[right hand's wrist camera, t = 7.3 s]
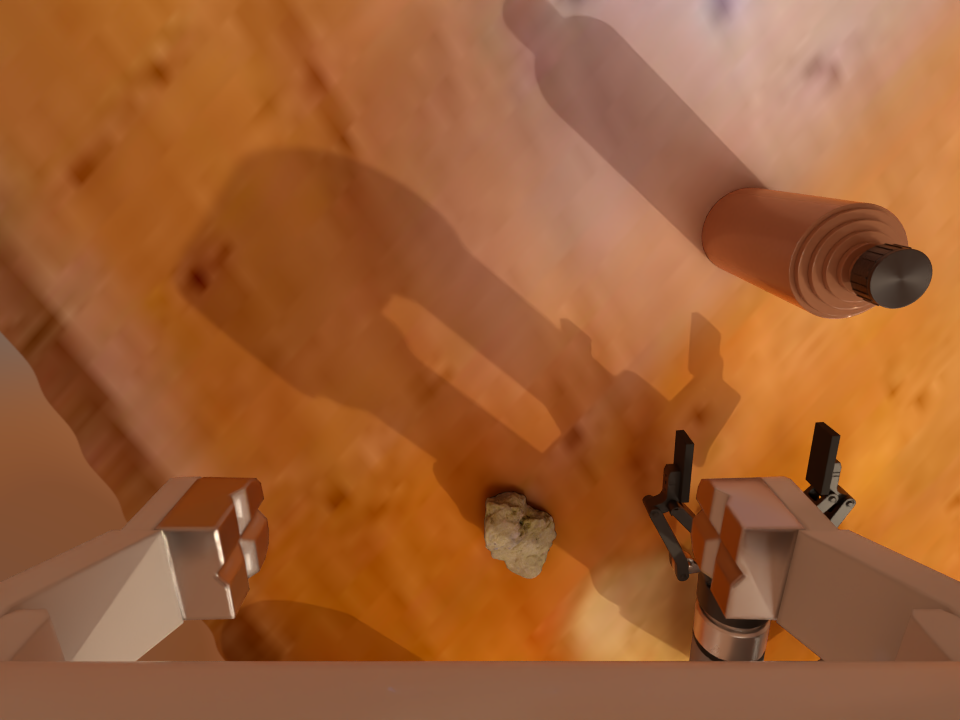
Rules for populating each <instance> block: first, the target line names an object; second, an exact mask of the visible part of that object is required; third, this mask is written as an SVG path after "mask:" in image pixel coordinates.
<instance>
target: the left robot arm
mask: <svg viewBox="0 0 960 720" xmlns="http://www.w3.org/2000/svg"><path fill="white" fill-rule="evenodd" d="M839 440H840V435H839V434H838V433H837V432H835V431H834V430H833V429H831V428H830V427H829V426H828V425H826V424H825V423H824V422H816V424H815V429H814V435H813V441H812V446H811V452H810V457H809V463H808V469H807V474H806V480H807V481H808V482H809V483H810V484H811V486H810V487H808V488H807V489H806V490H805V491H804V492H803V493H804V494H805V495H806V496H807V497H808V498H809V499H810V500H811V501H812V502H813V503H814V504H815V505H816V506H817V507H818V508H819V509H820V510H821V512H822V513H823V514H824V515H825V516H826V517H827V518H828V519H829V520H830V521H831V522H832V523H833V524H834V525H835V526H836V527H838V526H839V525H840V524H841V522H842V521H843V520H844V519H845V517H846V516H847V515H848V513H849V512H850V511H851V510H852V508H853V507H854V506H855V504H856V501H855V500H854V499H853V498H852V497H851V496H850V495H849V494H848V493H847V492H846V491H845V490H844V489H842V488H841V487H840V486H839V485H838V481H839V475H840V471H841V464H840V462H839V461H838V460H837V459H836V455H837V450H838V445H839ZM693 450H694V443H693V442H692V440H691V439H690V438H689V436H688V435H687V434H686V432H685V431H684V430H677V431H676V439H675V452H674V464H666V466H665V468H664V475H663V489H662V491H661V493H660V494H658V495H656V496H651V495H647V496H645V497H644V498H643V503H644V505H645V508H646V510H647V512H648V514H649V516H650V518H651V520H652V521H653V523H654V525H655V527H656V529H657V530H658V532H659V534H660V536H661V538H662V539H663V541H664V543H665V545H666V547H667V548H668V550H669V557H670V563H671V565H672V568H673V570H674V572H675V574H676V576H677V578H678V580H680V581H685V580H687V579H688V578H689V574H690V573H697V572H699V574H698V583H697V598H696V604H695V615H694V625H693V637H692V644H691V652H690V660H689V661H764V654H765V650H766V644H767V639H768V634H769V628H770V622H771V620H755V619H726V618H725V616H724V614H723V612H722V610H721V609H720V607H719V605H718V603H717V601H716V599H715V597H714V595H713V594H712V592H711V590H710V588H711V582H712V578H710V577H709V576H707V575H706V574H704V573H703V572H701V571H700V569H699V567H698V565H697V563H696V561H695V559H693V558H692V557H691V555H690V554H689V553H687V552H685V551H684V550H682V549H681V547H680V545H679V543H678V541H677V539H676V537H675V535H674V533H673V532H672V530H671V528H670V526H669V524H668V523H667V521H666V519H665V517H664V515H663V513H665V512H668V511H669V512H670V514H671V516H674V517H675V518H676V519H677V520H678V521H679V522H680V523H681V524H682V525H683V526H684V527H685V528H686V529H687V530H688V531H689V532H690V533H691V529H692V520H693V518H694V517H695V516H696V515H695V514H694V513H693V512H692V511H691V510H690V509H689V508H688V507H687V506H686V505H685V504H684V503H686V502H689V493H690V482H691V471H692V460H693ZM819 496H821V498H820V499H819ZM818 661H824V660H823V659H820V660H818Z"/></svg>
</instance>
